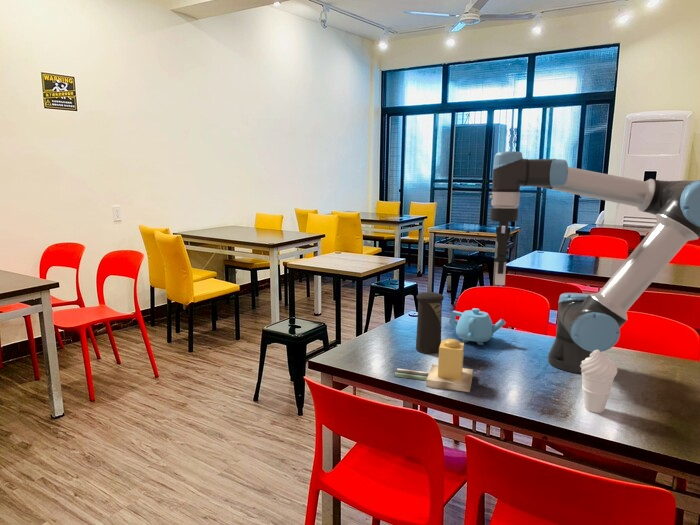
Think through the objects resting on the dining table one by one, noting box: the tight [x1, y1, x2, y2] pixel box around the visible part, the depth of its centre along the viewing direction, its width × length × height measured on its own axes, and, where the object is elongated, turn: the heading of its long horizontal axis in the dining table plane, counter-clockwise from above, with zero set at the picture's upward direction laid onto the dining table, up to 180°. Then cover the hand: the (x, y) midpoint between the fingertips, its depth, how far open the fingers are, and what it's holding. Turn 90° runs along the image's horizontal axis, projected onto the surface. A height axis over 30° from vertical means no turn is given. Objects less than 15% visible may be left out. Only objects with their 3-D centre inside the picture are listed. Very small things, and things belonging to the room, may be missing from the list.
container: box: [415, 291, 445, 355], centre depth 164 cm, size 9×9×20 cm
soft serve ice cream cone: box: [580, 349, 618, 414], centre depth 122 cm, size 8×8×16 cm
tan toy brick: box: [437, 338, 465, 380], centre depth 139 cm, size 6×6×10 cm
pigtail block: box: [393, 364, 474, 393], centre depth 141 cm, size 22×12×8 cm, turn 72°
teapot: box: [448, 307, 507, 346], centre depth 175 cm, size 20×17×12 cm
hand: (499, 280), depth 141 cm, fingers open, 13 cm apart
